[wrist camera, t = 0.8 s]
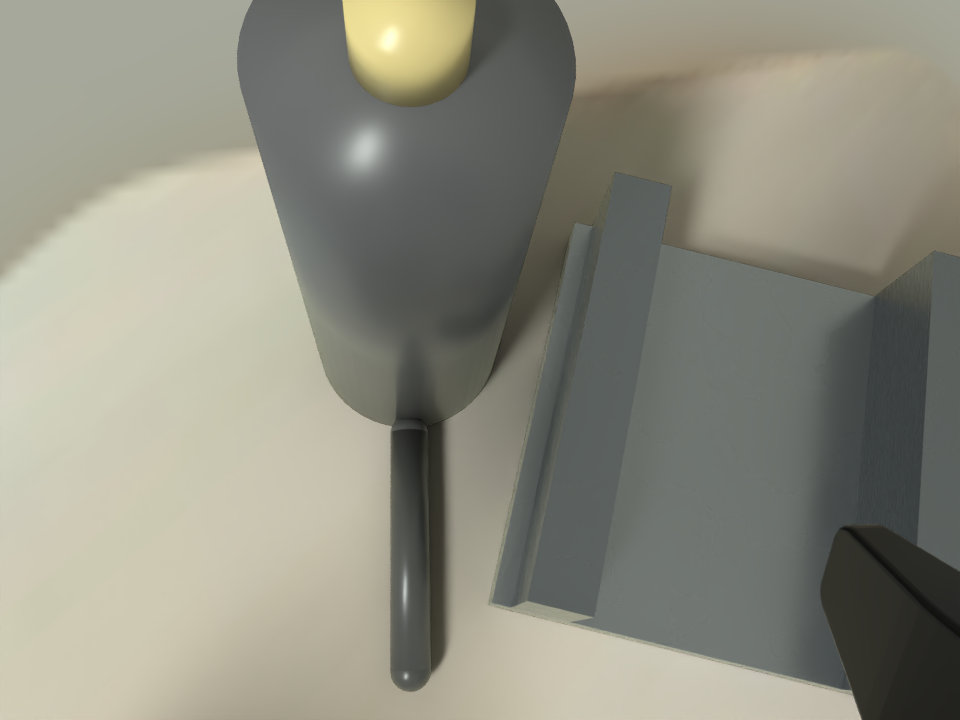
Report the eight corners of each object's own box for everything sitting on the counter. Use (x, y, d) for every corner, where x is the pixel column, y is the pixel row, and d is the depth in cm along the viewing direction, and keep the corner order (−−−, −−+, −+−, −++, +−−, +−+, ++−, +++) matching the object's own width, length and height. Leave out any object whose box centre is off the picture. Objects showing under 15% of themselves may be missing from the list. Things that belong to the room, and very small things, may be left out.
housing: (898, 706, 22) (997, 716, 19) (488, 605, 22) (504, 595, 19) (922, 325, 26) (1009, 269, 22) (569, 237, 26) (597, 167, 22)
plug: (509, 687, 22) (658, 737, 9) (310, 694, 21) (159, 759, 8) (492, 262, 26) (578, -136, 13) (322, 262, 25) (231, -151, 12)
